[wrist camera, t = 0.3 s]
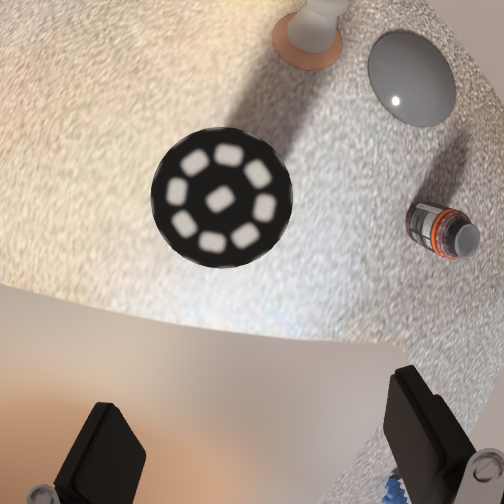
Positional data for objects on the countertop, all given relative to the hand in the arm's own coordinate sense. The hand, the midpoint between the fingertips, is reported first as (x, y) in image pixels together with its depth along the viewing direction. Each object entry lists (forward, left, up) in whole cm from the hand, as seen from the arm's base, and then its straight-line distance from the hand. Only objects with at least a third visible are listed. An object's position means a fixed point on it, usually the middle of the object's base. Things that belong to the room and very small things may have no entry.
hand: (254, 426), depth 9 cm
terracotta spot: (-23, +11, -31) cm, 40 cm away
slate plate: (-17, +25, -31) cm, 43 cm away
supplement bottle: (+3, +23, -31) cm, 39 cm away
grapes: (+71, +23, -31) cm, 81 cm away
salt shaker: (-23, +11, -31) cm, 40 cm away
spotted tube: (-6, -1, -31) cm, 31 cm away
